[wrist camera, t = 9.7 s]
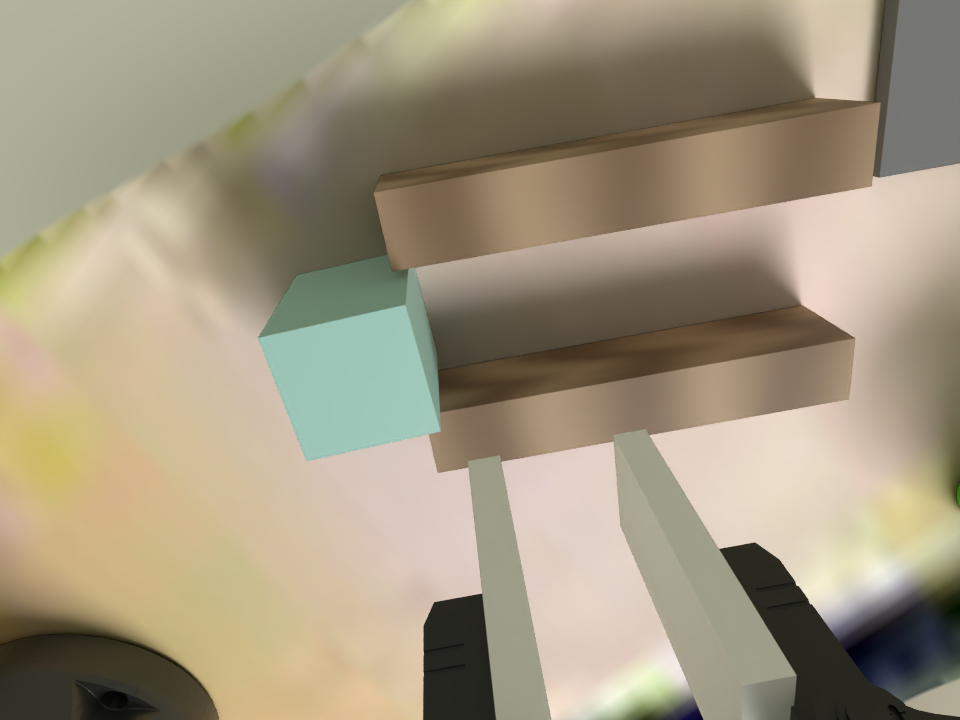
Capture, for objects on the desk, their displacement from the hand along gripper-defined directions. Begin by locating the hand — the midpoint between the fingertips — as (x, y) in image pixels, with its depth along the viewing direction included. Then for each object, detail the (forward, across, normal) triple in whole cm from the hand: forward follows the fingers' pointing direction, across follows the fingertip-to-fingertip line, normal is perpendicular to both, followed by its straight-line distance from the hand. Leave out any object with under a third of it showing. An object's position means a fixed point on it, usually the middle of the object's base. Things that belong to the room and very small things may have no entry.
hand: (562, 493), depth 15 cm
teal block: (+15, -6, 0) cm, 16 cm away
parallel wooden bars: (+14, +5, 0) cm, 15 cm away
